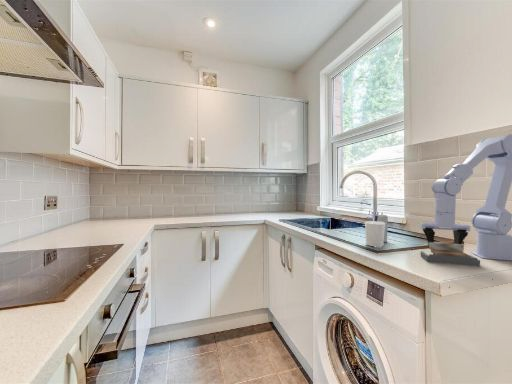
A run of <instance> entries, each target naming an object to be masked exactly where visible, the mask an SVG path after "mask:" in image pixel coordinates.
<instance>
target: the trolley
mask: <svg viewBox="0 0 512 384" xmlns="http://www.w3.org/2000/svg"><path fill="white" fill-rule="evenodd" d="M428 249H429V250H430V253H431V254H434V255H446V256H459V257H468V255H469V254H468V253H465V251H464V249H465V244H463V243H462V244H454V243H447V242H435V241H434V242H429V244H428Z"/></svg>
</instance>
